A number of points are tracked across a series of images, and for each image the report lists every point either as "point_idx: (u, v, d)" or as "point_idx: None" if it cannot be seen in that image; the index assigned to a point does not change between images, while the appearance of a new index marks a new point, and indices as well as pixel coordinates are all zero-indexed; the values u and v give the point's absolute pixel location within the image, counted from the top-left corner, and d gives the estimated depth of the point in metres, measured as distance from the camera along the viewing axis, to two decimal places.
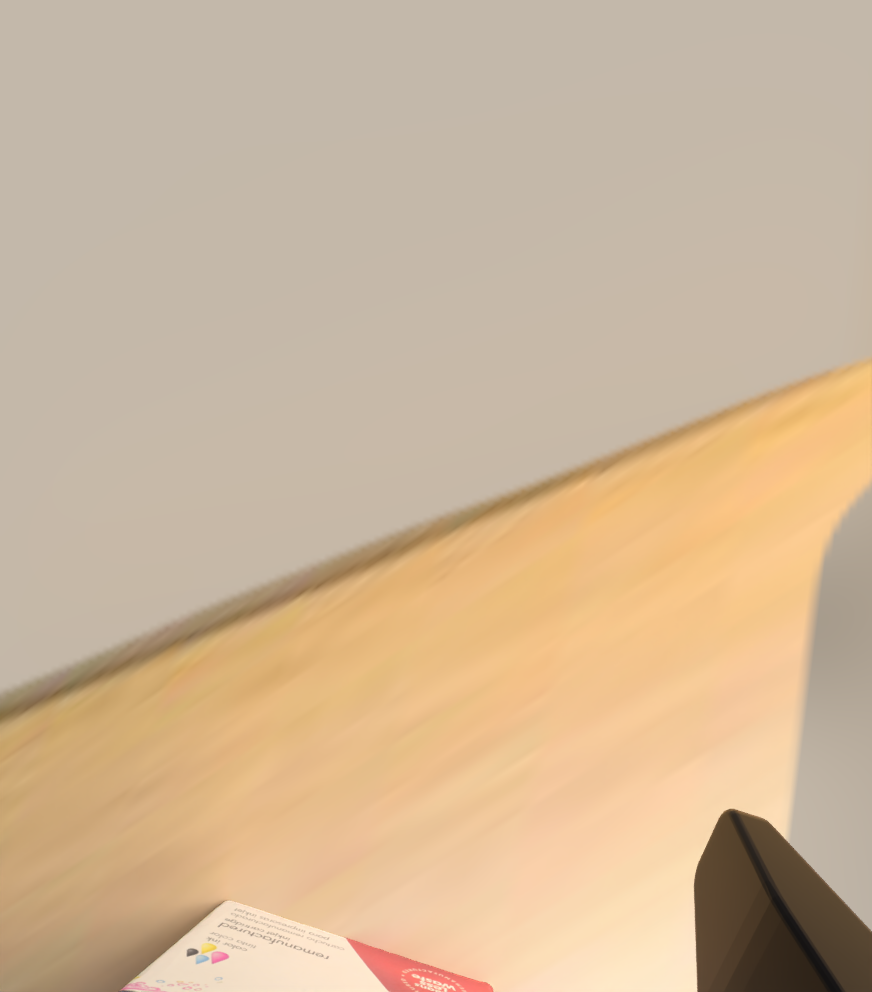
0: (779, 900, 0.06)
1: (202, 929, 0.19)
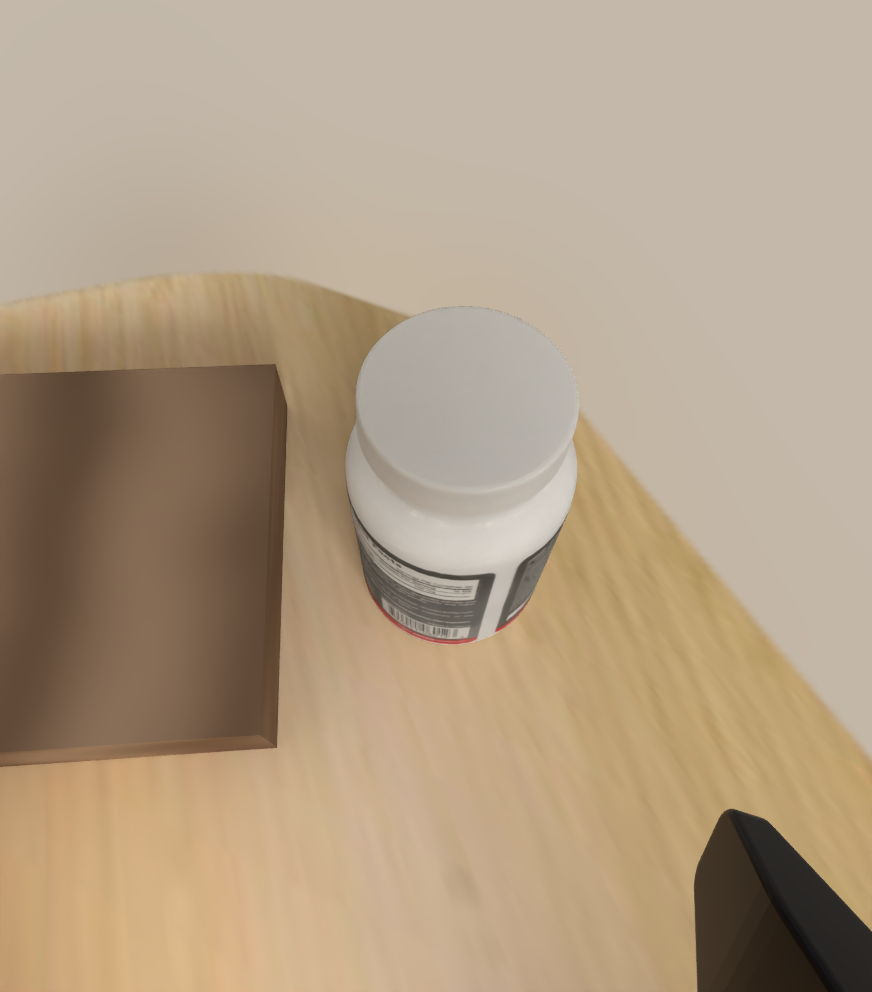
0: (779, 900, 0.06)
1: None
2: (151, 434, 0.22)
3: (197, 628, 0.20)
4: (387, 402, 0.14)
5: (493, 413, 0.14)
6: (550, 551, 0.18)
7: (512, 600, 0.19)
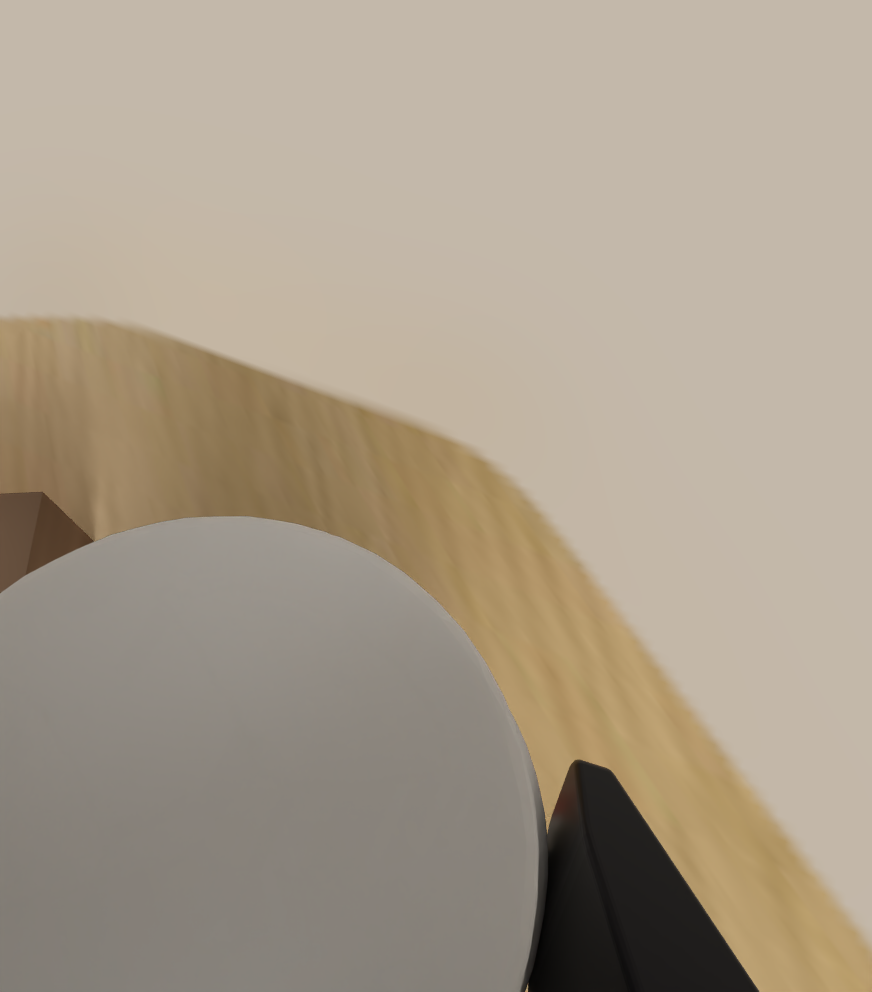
0: (589, 836, 0.06)
1: None
2: None
3: None
4: None
5: (250, 936, 0.04)
6: None
7: None
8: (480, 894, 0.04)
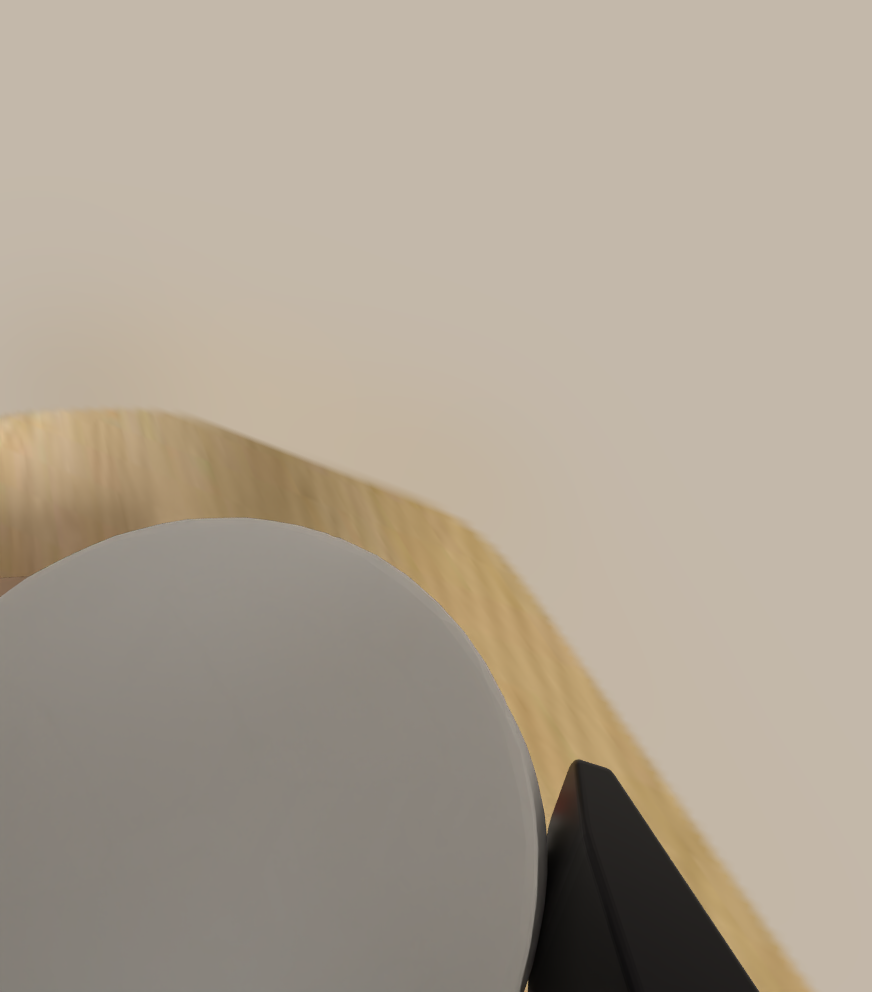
0: (588, 836, 0.06)
1: None
2: None
3: None
4: None
5: (252, 933, 0.04)
6: None
7: None
8: (480, 893, 0.04)
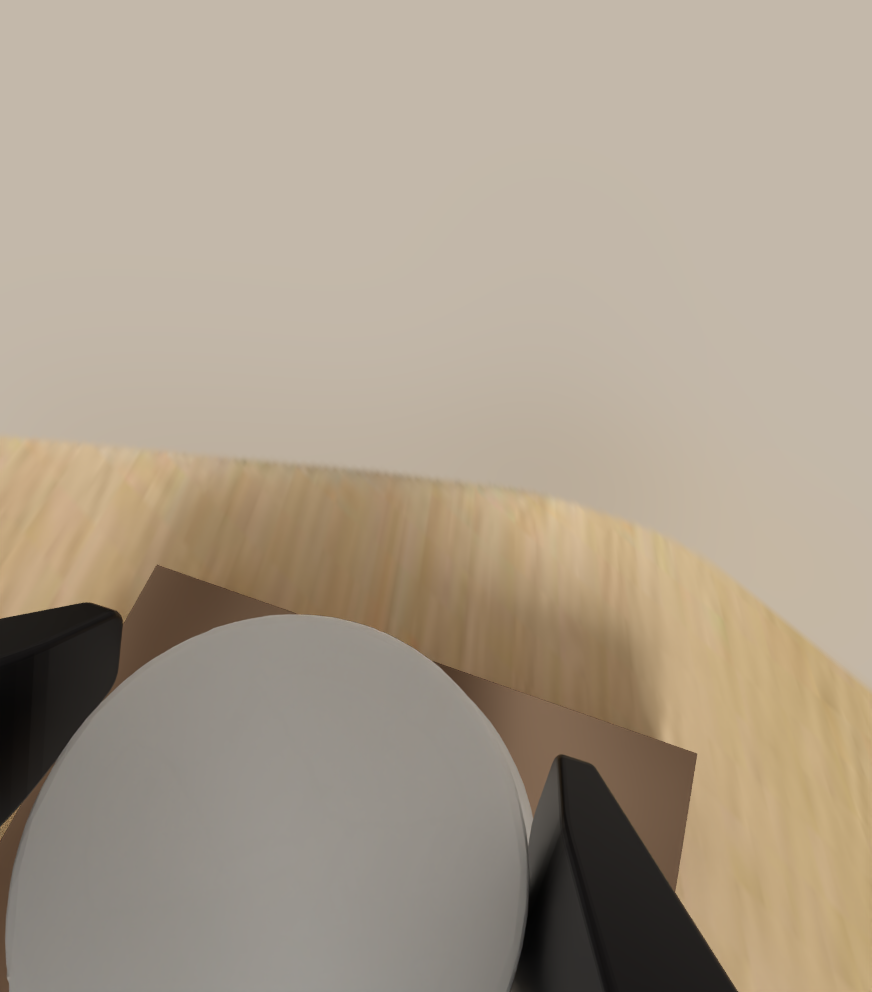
0: (567, 829, 0.06)
1: None
2: None
3: None
4: (79, 896, 0.06)
5: (323, 933, 0.06)
6: None
7: None
8: (487, 907, 0.06)
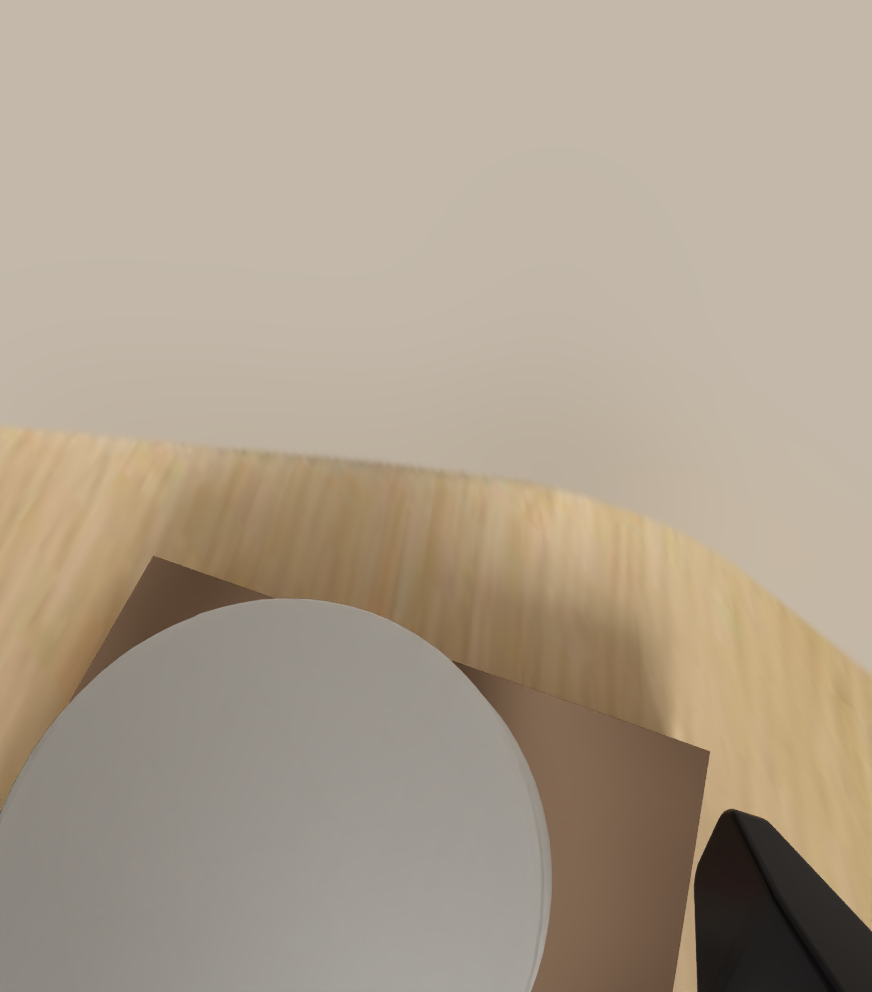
0: (778, 900, 0.06)
1: None
2: None
3: None
4: (51, 903, 0.06)
5: (319, 945, 0.06)
6: None
7: None
8: (498, 916, 0.06)
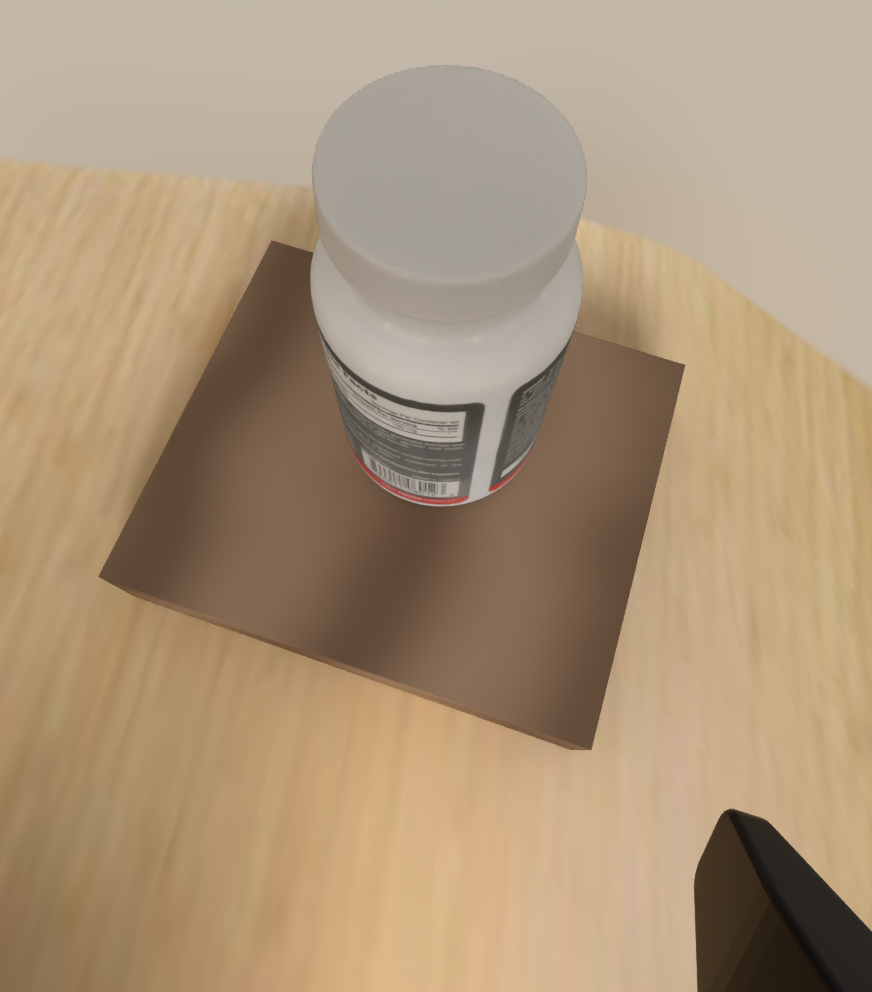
0: (778, 900, 0.06)
1: None
2: None
3: (552, 618, 0.19)
4: (350, 176, 0.12)
5: (480, 191, 0.12)
6: (550, 389, 0.16)
7: (506, 448, 0.17)
8: (565, 181, 0.12)
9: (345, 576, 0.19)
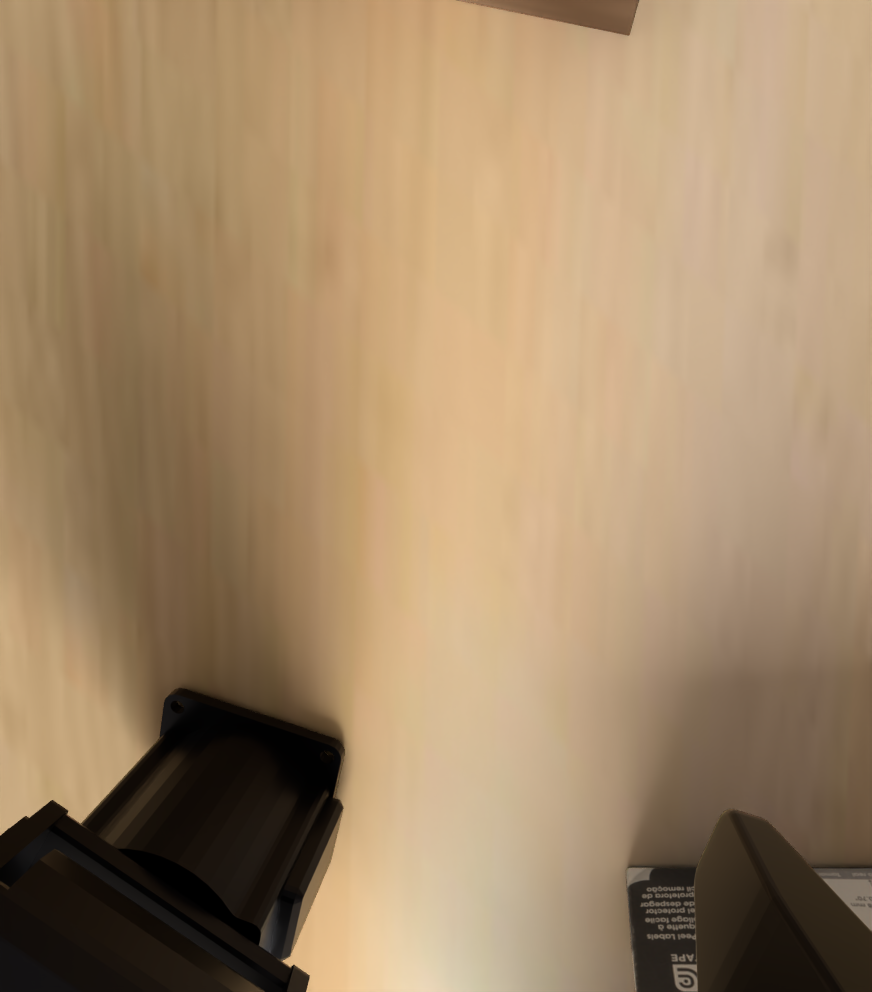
0: (779, 900, 0.06)
1: None
2: None
3: None
4: None
5: None
6: None
7: None
8: None
9: None
